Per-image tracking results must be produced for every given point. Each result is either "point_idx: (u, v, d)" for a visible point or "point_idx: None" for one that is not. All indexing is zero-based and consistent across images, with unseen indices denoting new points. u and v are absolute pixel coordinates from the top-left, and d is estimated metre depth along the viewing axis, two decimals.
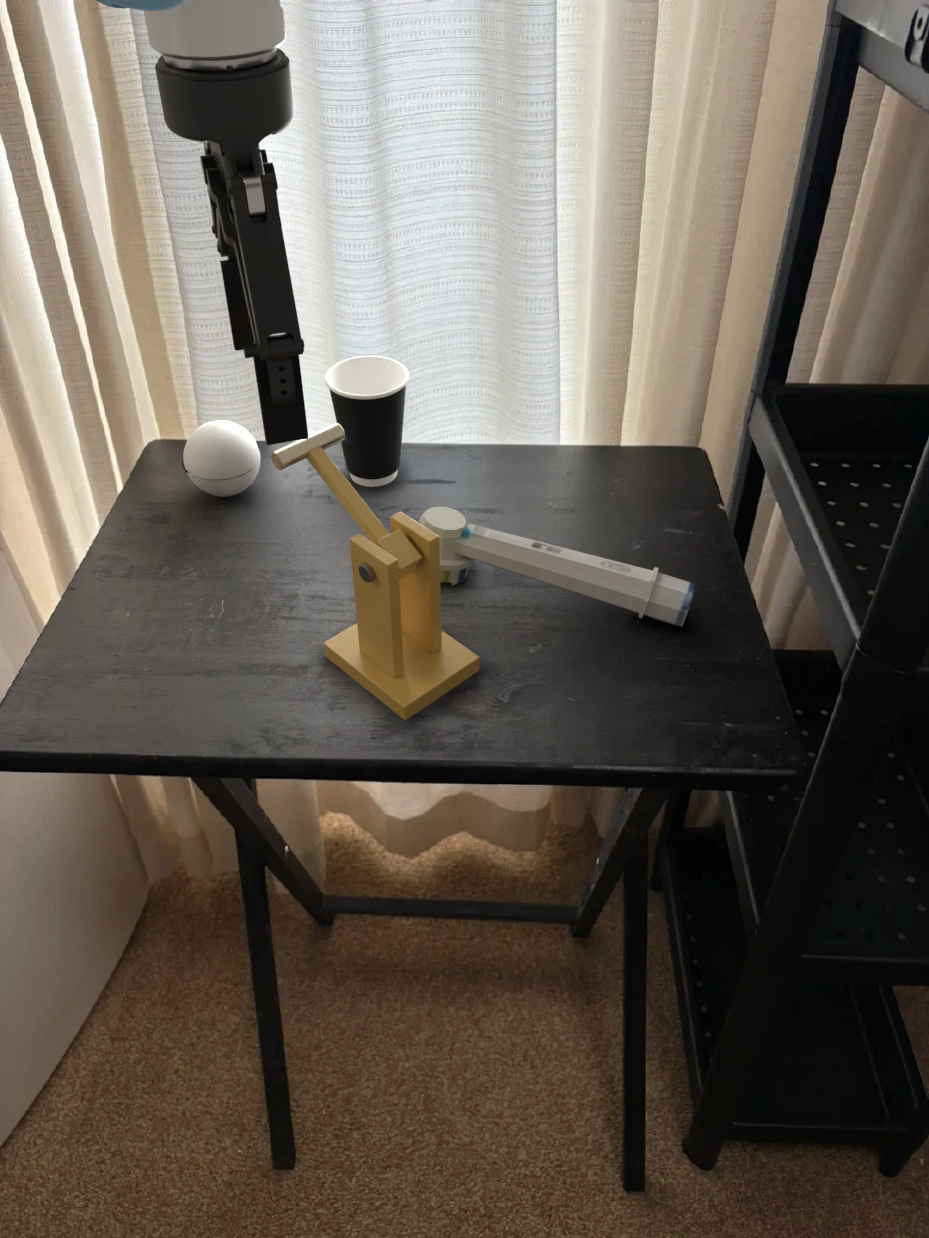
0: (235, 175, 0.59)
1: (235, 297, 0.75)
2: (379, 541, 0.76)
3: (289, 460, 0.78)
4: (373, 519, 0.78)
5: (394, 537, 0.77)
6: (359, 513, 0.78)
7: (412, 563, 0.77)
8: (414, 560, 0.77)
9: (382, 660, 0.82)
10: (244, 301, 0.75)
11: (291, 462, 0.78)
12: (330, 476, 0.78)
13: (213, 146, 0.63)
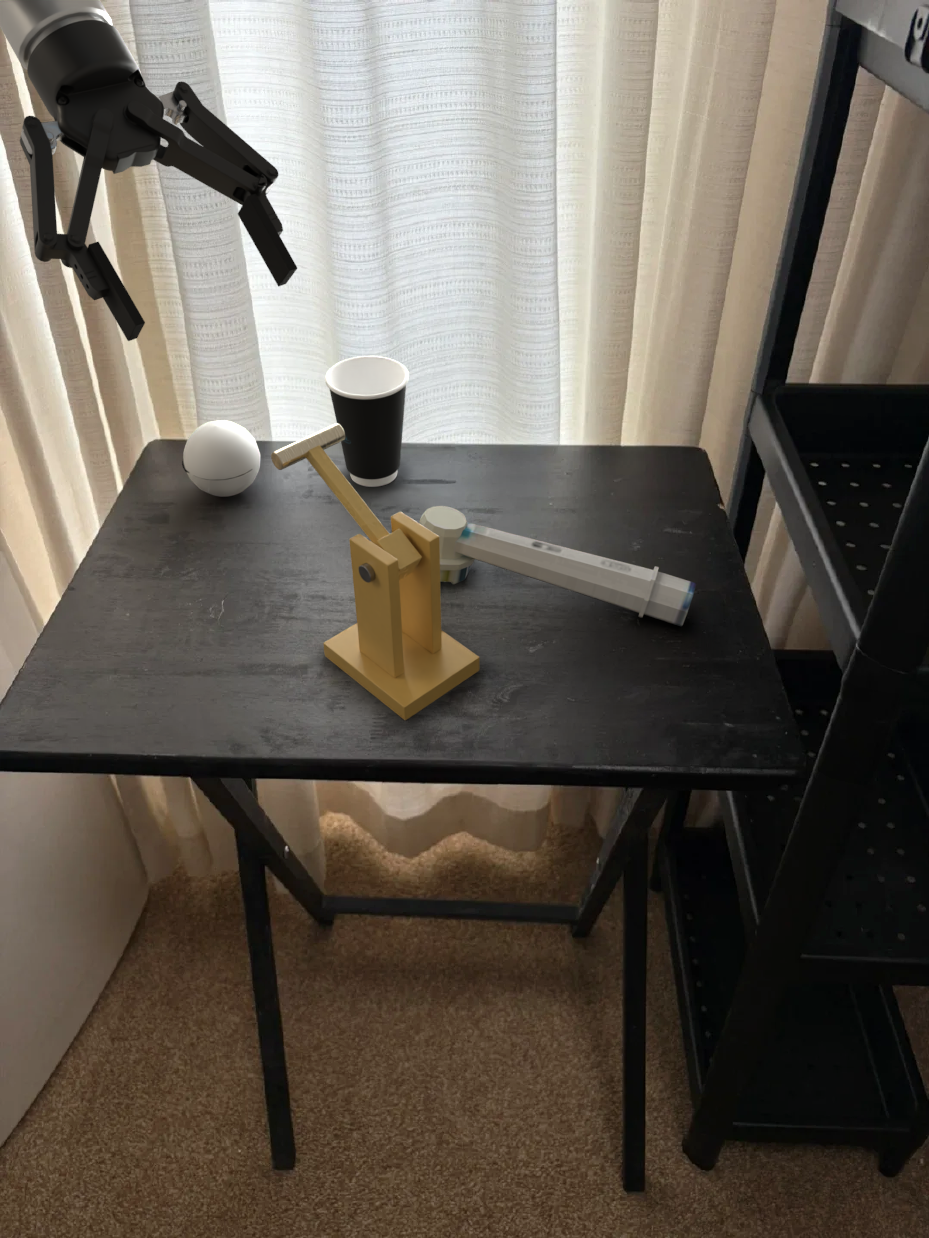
0: None
1: (255, 237, 0.83)
2: (379, 541, 0.76)
3: (289, 460, 0.78)
4: (373, 519, 0.78)
5: (394, 537, 0.77)
6: (359, 513, 0.78)
7: (412, 563, 0.77)
8: (414, 560, 0.77)
9: (382, 660, 0.82)
10: (260, 238, 0.83)
11: (291, 462, 0.78)
12: (330, 476, 0.78)
13: None
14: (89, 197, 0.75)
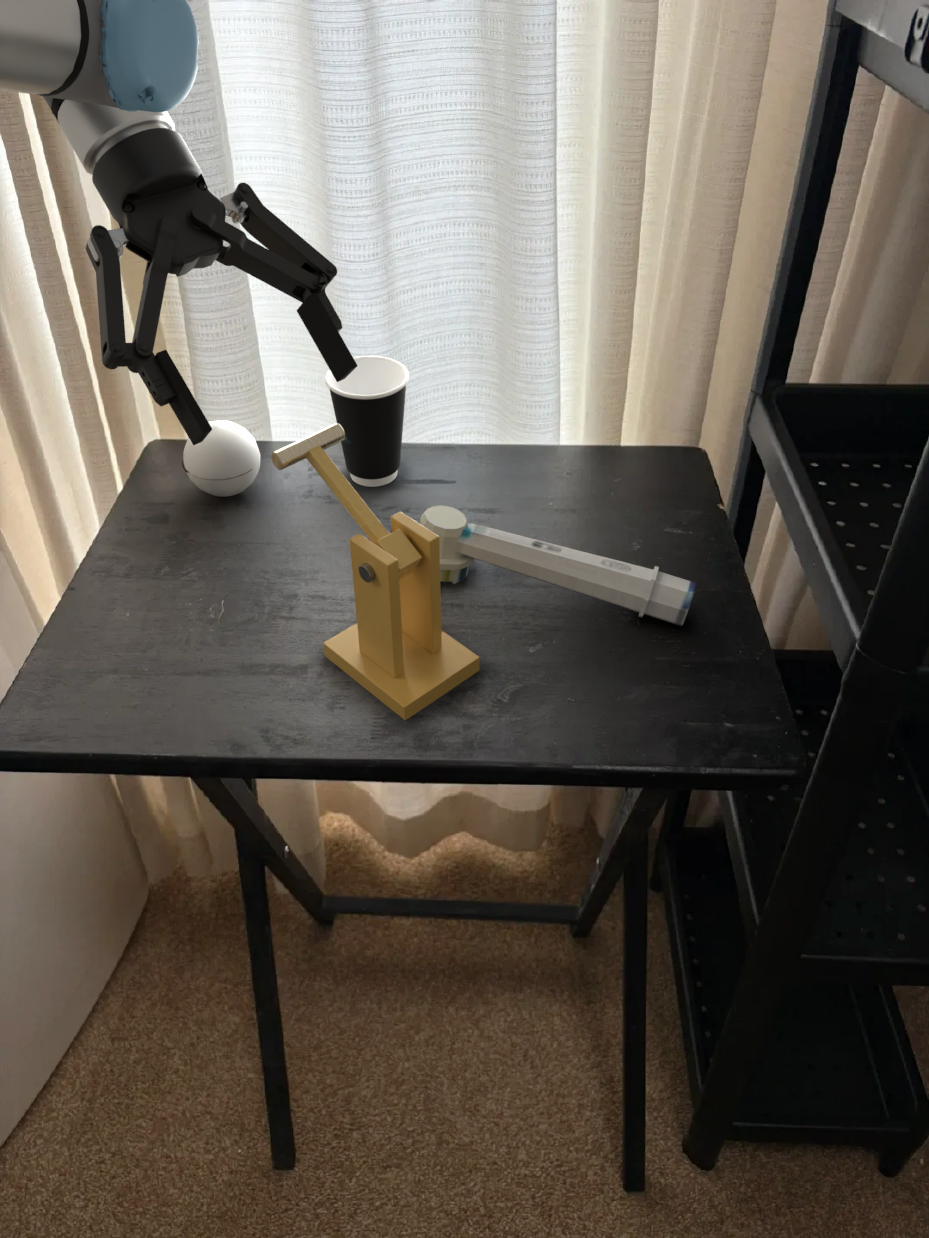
0: None
1: (314, 334, 0.84)
2: (379, 541, 0.76)
3: (289, 460, 0.78)
4: (373, 519, 0.78)
5: (394, 537, 0.77)
6: (359, 513, 0.78)
7: (412, 563, 0.77)
8: (414, 560, 0.77)
9: (382, 660, 0.82)
10: (319, 335, 0.83)
11: (291, 462, 0.78)
12: (330, 476, 0.78)
13: None
14: (156, 305, 0.76)
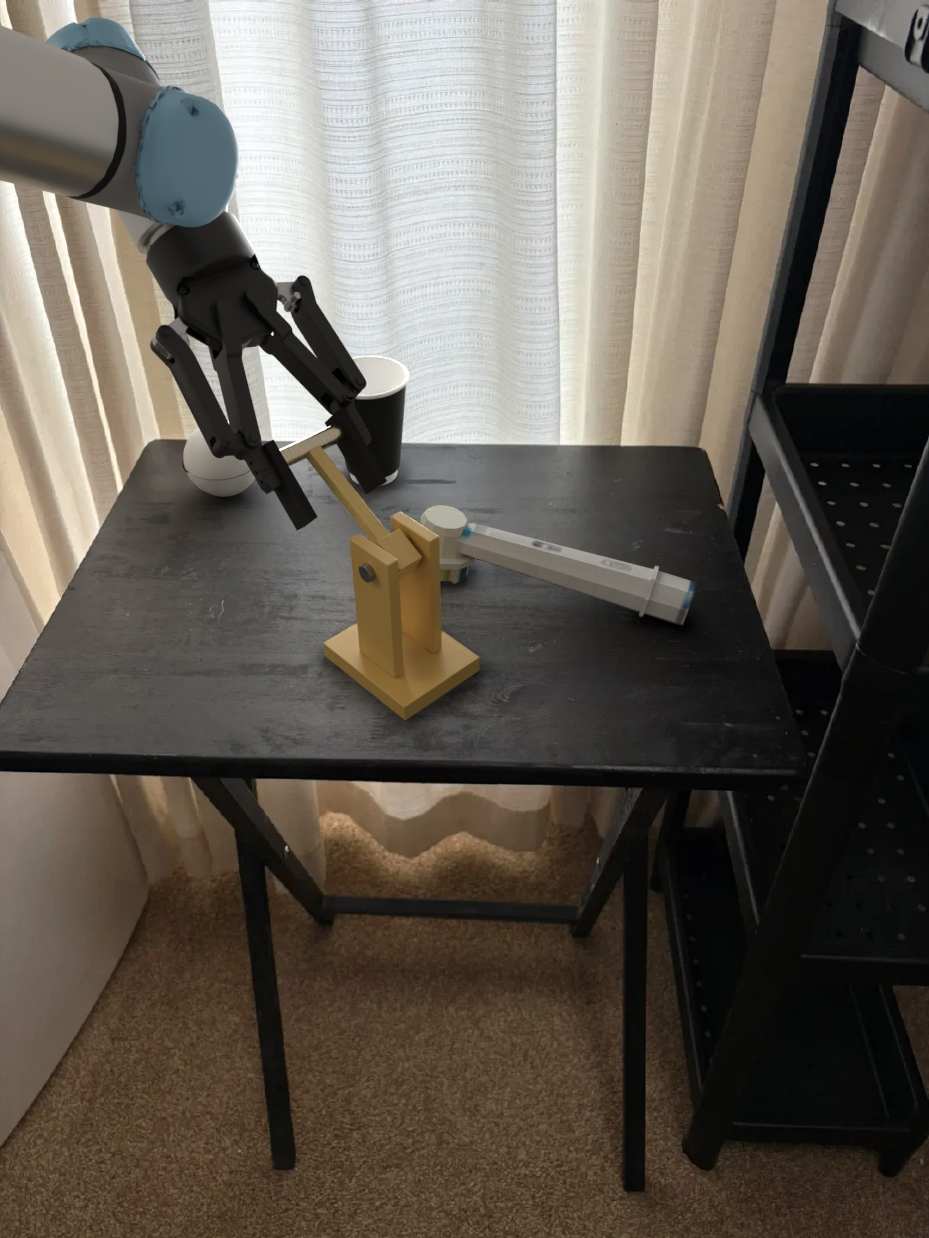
0: (174, 319, 0.77)
1: (343, 447, 0.82)
2: (379, 541, 0.76)
3: (289, 460, 0.78)
4: (373, 519, 0.78)
5: (394, 537, 0.77)
6: (359, 513, 0.78)
7: (412, 563, 0.77)
8: (414, 560, 0.77)
9: (382, 660, 0.82)
10: (348, 449, 0.81)
11: (291, 462, 0.78)
12: (330, 476, 0.78)
13: None
14: (245, 392, 0.77)
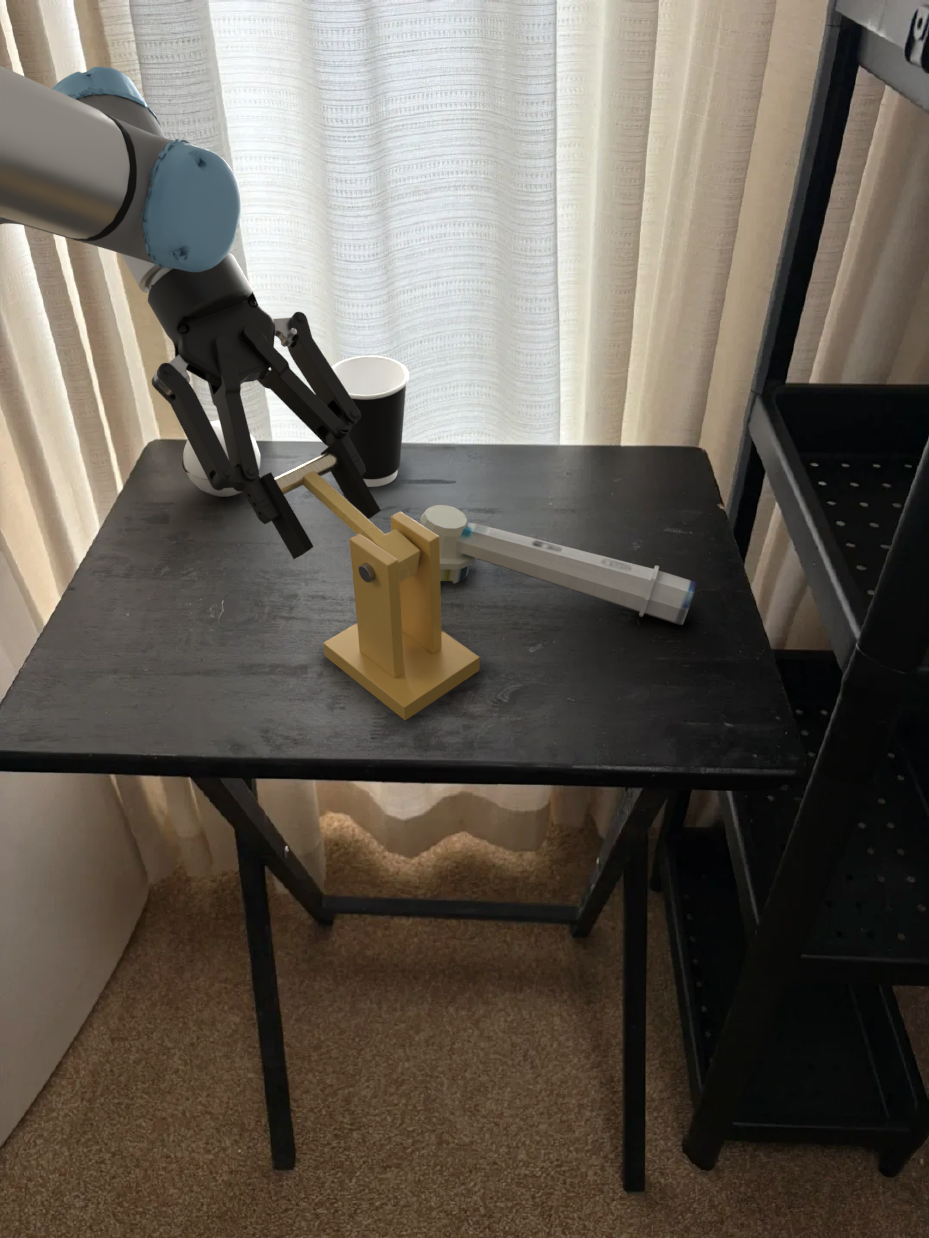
0: None
1: (338, 477, 0.85)
2: (375, 541, 0.77)
3: (284, 485, 0.80)
4: (370, 525, 0.79)
5: (390, 536, 0.77)
6: (355, 522, 0.79)
7: (411, 557, 0.76)
8: (412, 554, 0.76)
9: (382, 660, 0.82)
10: (343, 479, 0.84)
11: (287, 488, 0.81)
12: (325, 495, 0.80)
13: None
14: (243, 426, 0.79)
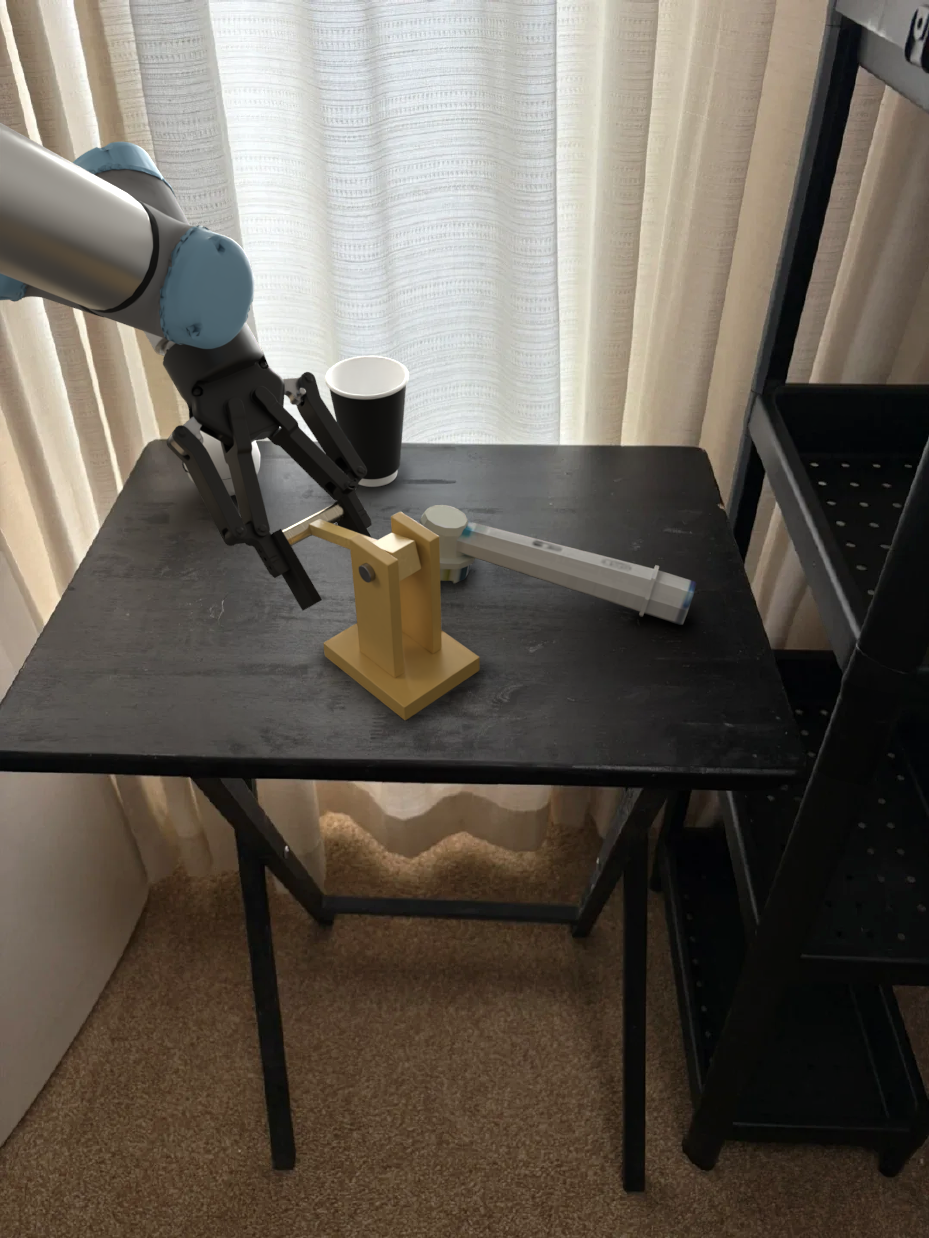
0: None
1: None
2: None
3: (291, 534, 0.84)
4: None
5: (386, 538, 0.78)
6: None
7: (406, 548, 0.76)
8: (407, 544, 0.76)
9: (382, 660, 0.82)
10: None
11: (294, 536, 0.84)
12: (328, 530, 0.83)
13: None
14: (254, 485, 0.83)
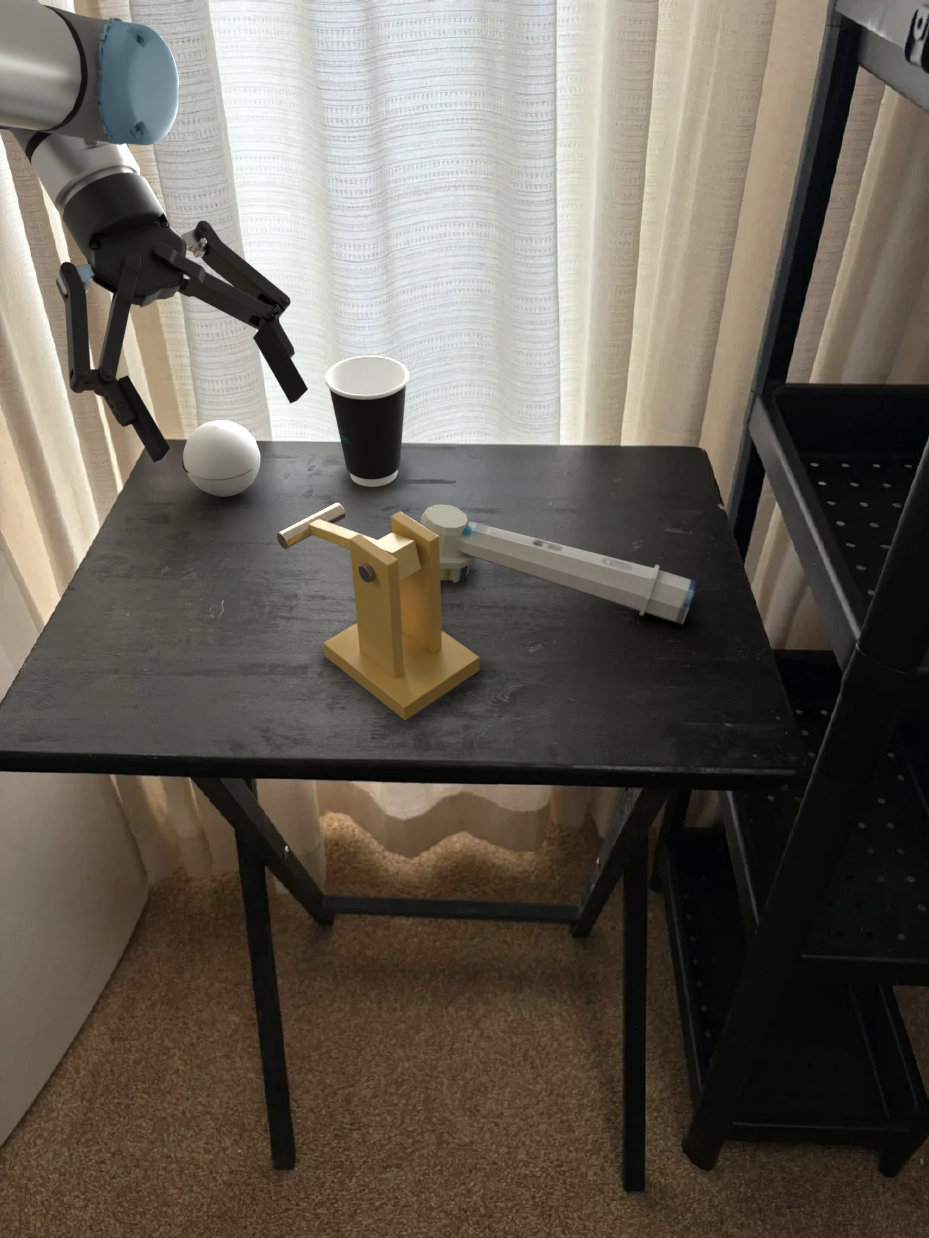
0: None
1: (269, 359, 0.91)
2: None
3: (291, 534, 0.84)
4: None
5: (386, 538, 0.78)
6: None
7: (406, 548, 0.76)
8: (407, 544, 0.76)
9: (382, 660, 0.82)
10: (273, 361, 0.90)
11: (294, 536, 0.84)
12: (328, 530, 0.83)
13: None
14: (119, 334, 0.83)
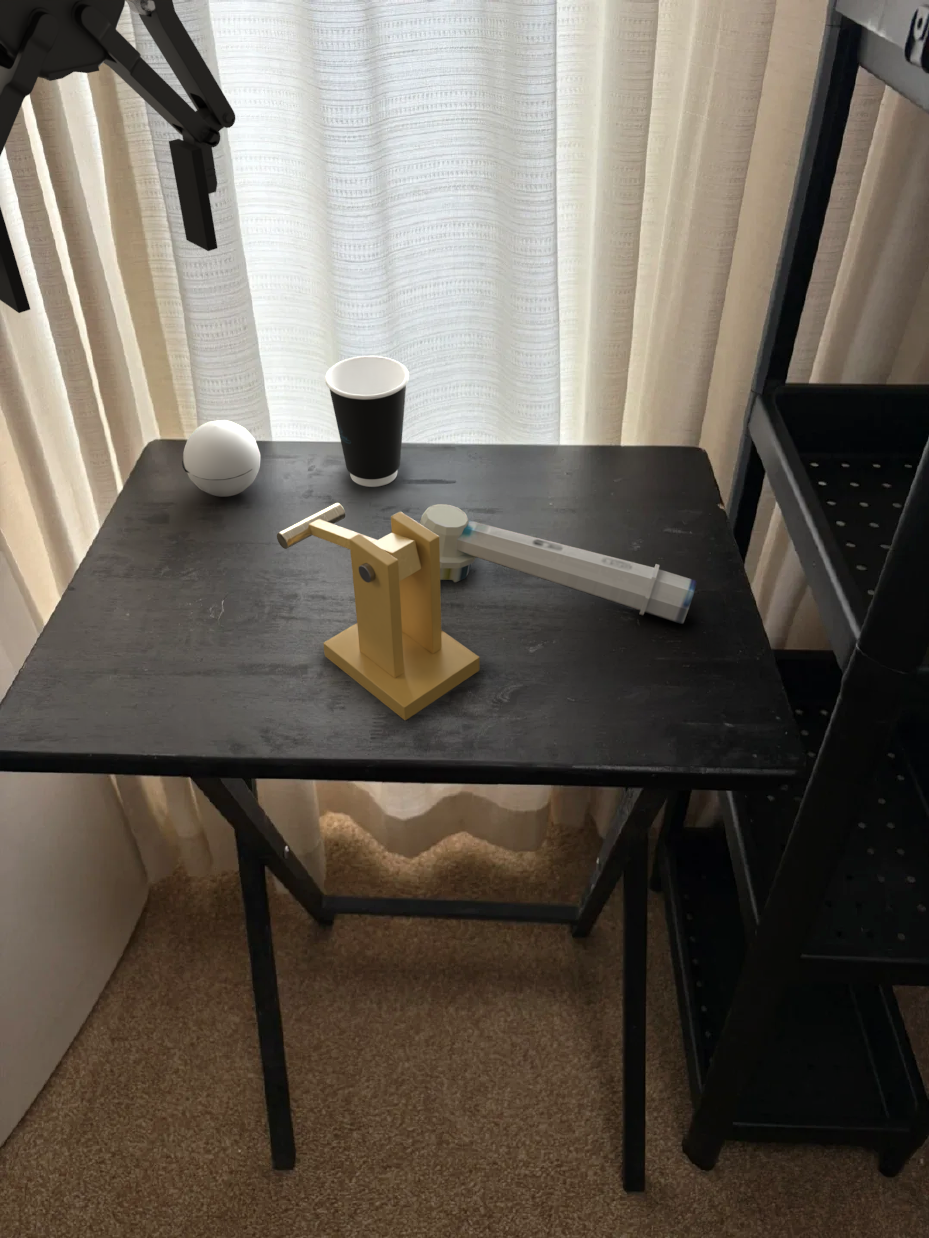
0: None
1: (180, 182, 0.69)
2: None
3: (291, 534, 0.84)
4: None
5: (386, 538, 0.78)
6: None
7: (406, 548, 0.76)
8: (407, 544, 0.76)
9: (382, 660, 0.82)
10: (186, 190, 0.69)
11: (294, 536, 0.84)
12: (328, 530, 0.83)
13: None
14: (0, 138, 0.58)
